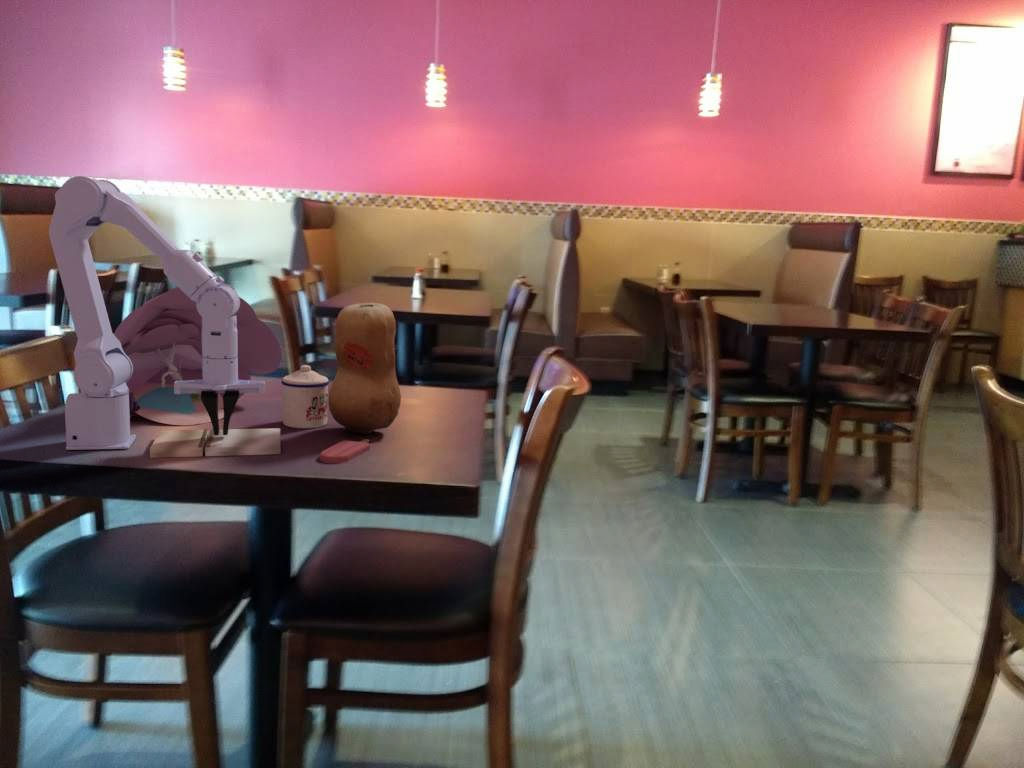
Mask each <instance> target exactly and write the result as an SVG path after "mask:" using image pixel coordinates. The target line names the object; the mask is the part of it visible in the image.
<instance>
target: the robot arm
mask: <svg viewBox="0 0 1024 768" xmlns="http://www.w3.org/2000/svg"><path fill="white" fill-rule="evenodd" d="M54 198H55V206H54V209H53V213H52V216H51V221H50V223H49V227H48V237H49V240H50V243H51V247H52V251H53V254H54V258H55V262H56V265H57V268H58V272H59V276H60V280H61V284H62V287H63V291H64V295H65V298H66V302H67V305H68V309H69V313H70V316H71V320H72V324H73V328H74V330H75V334H76V335H75V336H76V338H77V342H76V345H75V349H74V351H73V358H74V360H75V361H74V362H75V366H74V367H75V368H74V370H73V381H74V383H75V385H76V387H77V389H79V390H80V392H77V393H76V392H75V393H73V392H72V393H69V394H67V396H66V398H65V405H64V407H65V408H64V417H65V418H64V420H65V422H64V423H65V439H66V442H65V443H66V446H65V450H68V451H72V450H73V451H75V450H77V451H82V450H84V451H85V450H117V449H119V450H123V449H124V450H125V449H126V450H127V449H129V448H130V447H131V446H132V444H133V442H134V441H135V440H136V438H137V434H135V433H134V434H131V420H130V419H131V417H130V413H129V389H128V387H127V385H126V382H127V381H128V380H129V379H130V378H131V376H132V373H133V365H132V362H131V360H130V359H129V357H128V356H127V355H126V354H125V353H124V351H123V349H122V346H121V343H120V341H119V340H118V339H117V338H116V337H115V335H114V333H113V328H112V327H111V326H112V325H111V323H110V319H109V315H108V314H109V313H108V312H107V307H106V304H105V300H104V295H103V292H102V288H101V285H100V281H99V276H98V273H97V269H96V265H95V263H94V258H93V255H92V251H91V247H90V243H89V240H90V238H91V237H92V236H93V234H94V233H95V232H96V231H97V229H99V227H100V226H101V225H102V224H105V223H109V224H112V225H115V226H120V227H122V228H124V229H125V230H127V231H128V233H130V234H131V235H133V237H134V238H136V239H137V240H138V241H139V242H140V243H141V244H142V245H144V247H146V248H147V249H148V250H149V251H150V252H151V253H153V254H154V256H156V258H158V259H159V261H161V262H162V264H163V265H162V266H163V274H164V275H165V276H166V277H167V278H168V279H169V280H170V281H171V282H172V283H173V284H174V285H175V286H176V288H177V287H178V288H179V289H180V290H182V291H183V292H184V293H185V294H186V295H187V296H188V297H189V298H190V299H191V300H192V301H195V302H197V303H196V307H197V310H198V312H199V314H200V315H201V317H202V378H203V380H187V381H175V382H174V394H181V393H201V401H202V403H203V405H204V406H205V408H206V410H207V412H208V414H209V417H210V420H211V422H210V423H211V425H212V429H213V430H214V435H219V430H220V422H219V421H220V419H218V393H224V396H223V406H224V407H223V409H224V418H223V425H222V426H223V427H222V429H223V435H228V429H229V426H230V420H231V418H232V415H233V412H234V410H235V407H236V405H237V403H238V401H239V399H240V398H239V395H240V393H245V394H257V393H258V394H263V395H264V394H266V393H265V392H266V380H254V379H253V380H239V379H238V335H237V334H238V331H237V316H236V315H235V316H233V315H234V314H235V313H236V312H237V311H238V309H239V307H240V298H241V297H240V296H239V293H238V292H237V291H236V290H235V287H234V286H232V285H230V284H227V283H223V282H225V279H224V278H223V277H222V276H217V275H216V274H215V273H214V272H213V271H212V270H211V269H210V268H209V267H208V266H207V265H206V264H205V263H204V262H203V260H204V257H203V256H202V255H201V254H200V253H197V252H196V253H194V252H193V251H192V250H189V249H179V248H178V247H177V246H176V245H175V244H174V242H172V241H171V240H170V238H169V237H168V236H167V235H166V234H165V233H164V232H163V231H162V230H161V229H160V228H159V226H157V224H156V223H155V222H154V221H153V220H152V219H151V218H150V217H149V216H148V215H147V214H146V213H145V212H144V211H143V210H142V209H141V208H140V206H139V205H138V204H137V203H136V202H135V201H134V200H133V199H132V198H131V196H129V195H128V194H126V193H125V192H121V190H120V189H119V187H118V186H117V185H116V184H115V183H113V182H112V181H109V180H105V179H94V178H91V177H87V176H82V175H80V176H79V175H78V176H73V177H70V178H69V179H68V180H66V181H65V182H64V183H63V184H62V185H61V187H60V188H59V189H58V190H57V191H56V192H55V193H54ZM239 297H240V298H239ZM232 316H233V317H232ZM230 317H231V318H230Z"/></svg>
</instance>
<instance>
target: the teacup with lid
mask: <svg viewBox="0 0 1024 768" xmlns="http://www.w3.org/2000/svg"><path fill="white" fill-rule="evenodd" d="M299 368H300V369H299V370H296V371H294V372H292V373H291V374H289V375H285V376H284V377H282V378H281V385H282V424H283V425H284V426H286V427H289V428H294V429H316V428H320V427H324V426H326V425H327V423H328V410H329V384H330V381H329V379H328V377H327V376H324V375H321V374H319V373H318V372H316V371H314V370H312V367H311V366H310V365H309V364H308V365H307V364H304V365H301V366H299Z"/></svg>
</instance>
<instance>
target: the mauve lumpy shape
mask: <svg viewBox="0 0 1024 768" xmlns="http://www.w3.org/2000/svg"><path fill="white" fill-rule="evenodd" d="M239 298H240V307H239V309H238V311H237V312H236V313H235V314H234V315H233V316H235V315H236V316H237V331H238V334H237V335H238V379H239V380H251V378H252V377H251V374H255V375H267V374H270V373H273V372H276V370H277V369H278V368H279V366H280V364H281V360H282V351H281V345H280V342H279V340H278V338H277V336H276V335H275V333H274V332H273V331H272V329H271V328H270V327H269V326H268V325H267V324H266V323H265V322H264V321H262V320H261V319H260V318H258V316H257V315H256V312H255V310H254V308H253V307H252V305H250V304H249V302H247V301H246V299H243V298H242V297H241V296H239ZM196 303H197V302H195V301H192V300H191V299H190V298H189V297H188V296H187V295H186V294H185V293H184V292H183V291H182V290H180V289H179V288H178V287H177V286H176V287H175V288H172V289H170V290H168V291H166V292H163V293H162V294H159V295H158V296H156V297H154V298H152V299H149V300H148V301H146V302H143V305H141V306H139V307H137V308H136V309H134V310H133V311H131V312H130V313H129V314H128V315H127V316H126V317H125V318H124V319H123V320H122V321H121V322H120V324H118V326H117V327H116V329H115V331H114V333H113V334H114V335H115V337H116V338H117V339H118V340H119V341H120V343H121V346H122V349H123V351H124V353H125V354H126V355H127V356H128V357H129V359H130V360H131V362H132V365H133V373H132V376H131V378H130V379H129V380H128V381H127V382H126V385H127V387H128V389H129V413H130V418H131V417H135V416H137V415H139V416H141V417H143V418H145V419H148V420H150V421H153V422H157V423H159V424H160V423H161V424H166V425H173V426H193V425H202V424H206V423H211V420H210V417H209V414H208V412H207V410H206V408H205V406H204V405H203V403H202V401H201V393H181V394H174V382H175V381H187V380H203V378H202V317H201V315H200V314H199V312H198V310H197V307H196ZM233 316H232V317H233ZM230 318H231V317H230ZM245 394H246V393H240V395H239V399H240V398H241V397H243V396H244V395H245ZM223 396H224V393H218V419H219V420H221V419H224V406H223Z"/></svg>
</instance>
